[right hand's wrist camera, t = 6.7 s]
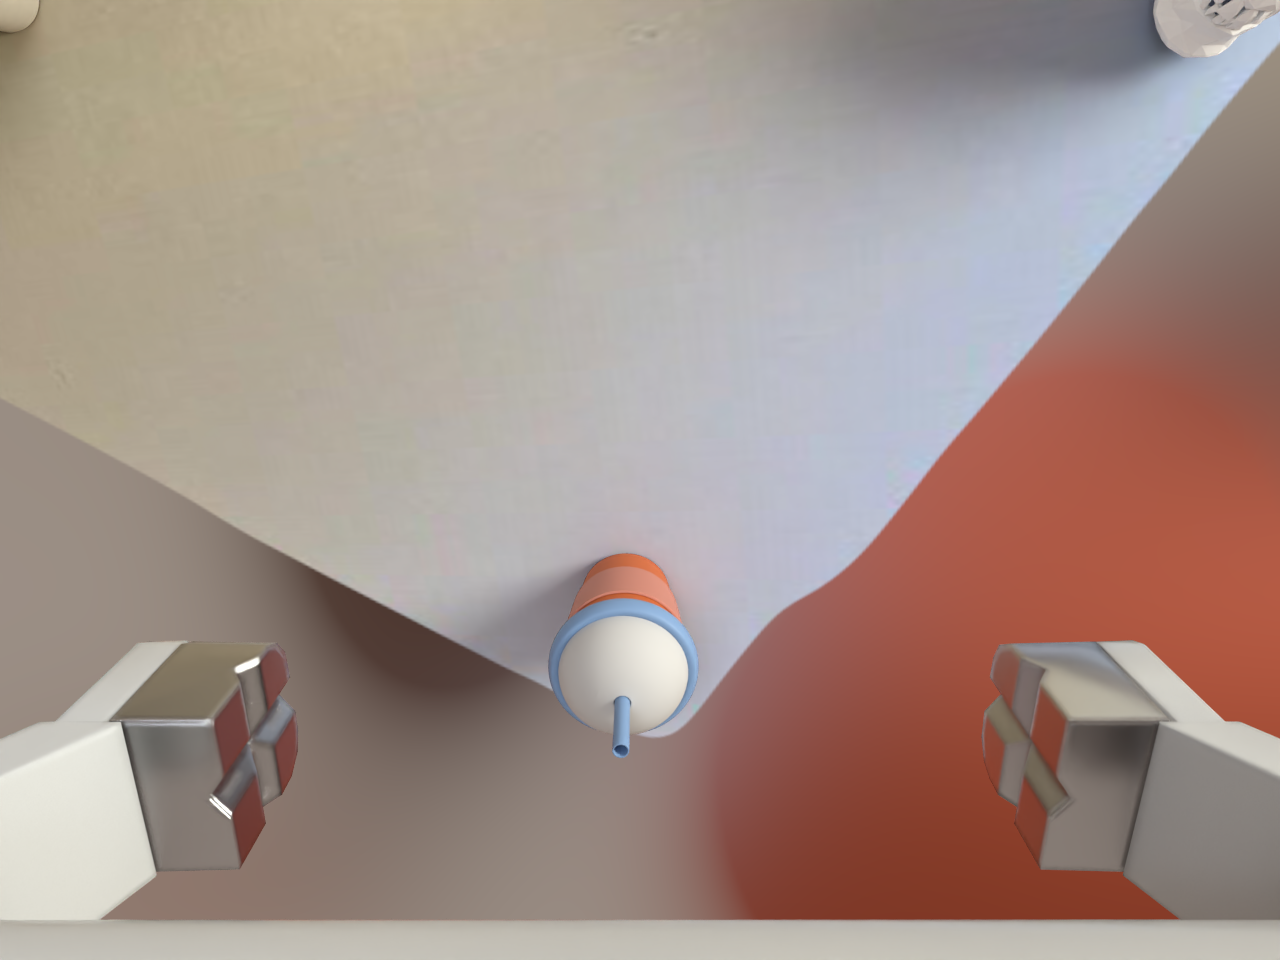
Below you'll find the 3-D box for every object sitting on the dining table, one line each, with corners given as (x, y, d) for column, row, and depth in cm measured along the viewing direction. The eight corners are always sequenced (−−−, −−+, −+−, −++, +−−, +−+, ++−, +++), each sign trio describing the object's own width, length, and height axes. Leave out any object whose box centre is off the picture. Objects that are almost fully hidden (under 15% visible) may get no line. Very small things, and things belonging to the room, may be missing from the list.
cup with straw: (551, 634, 64) (519, 804, 47) (575, 521, 61) (550, 660, 44) (673, 657, 65) (685, 834, 48) (703, 547, 62) (727, 694, 45)
